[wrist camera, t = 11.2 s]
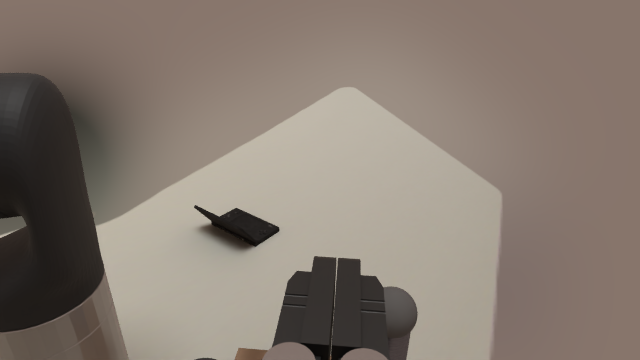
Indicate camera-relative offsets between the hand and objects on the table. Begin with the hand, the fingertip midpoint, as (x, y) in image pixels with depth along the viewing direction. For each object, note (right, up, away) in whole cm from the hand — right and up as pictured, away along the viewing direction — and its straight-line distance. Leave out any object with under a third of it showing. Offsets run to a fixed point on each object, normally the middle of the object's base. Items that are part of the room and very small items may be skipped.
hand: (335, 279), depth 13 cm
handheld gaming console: (-15, -6, +57) cm, 59 cm away
